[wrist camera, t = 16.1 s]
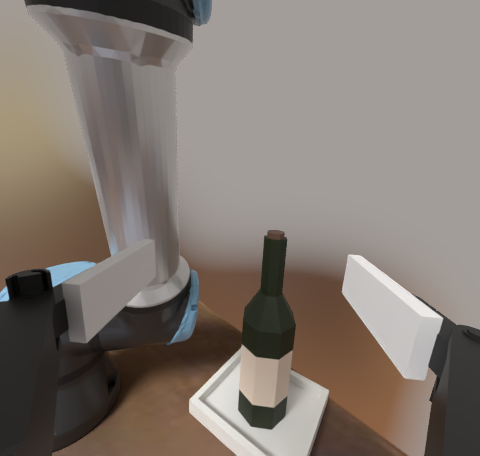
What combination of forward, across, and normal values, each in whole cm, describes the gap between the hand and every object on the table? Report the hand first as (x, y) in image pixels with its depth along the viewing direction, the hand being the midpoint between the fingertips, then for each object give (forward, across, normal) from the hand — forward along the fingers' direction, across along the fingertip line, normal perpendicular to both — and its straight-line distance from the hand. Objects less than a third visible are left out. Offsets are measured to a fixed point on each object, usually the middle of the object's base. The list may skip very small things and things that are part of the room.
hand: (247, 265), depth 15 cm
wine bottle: (+16, +4, -32) cm, 36 cm away
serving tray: (+16, +4, -32) cm, 36 cm away
